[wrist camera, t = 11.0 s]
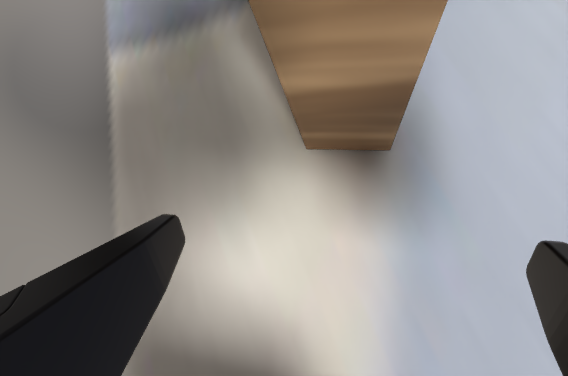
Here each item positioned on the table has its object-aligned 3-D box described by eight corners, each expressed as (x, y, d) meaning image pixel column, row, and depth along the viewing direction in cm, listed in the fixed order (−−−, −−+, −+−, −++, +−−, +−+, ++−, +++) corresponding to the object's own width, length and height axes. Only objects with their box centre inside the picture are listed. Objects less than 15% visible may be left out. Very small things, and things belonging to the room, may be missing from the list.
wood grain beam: (390, 150, 16) (524, -193, 4) (306, 149, 17) (197, -127, 5) (391, 98, 17) (509, -341, 4) (310, 100, 18) (221, -257, 5)
